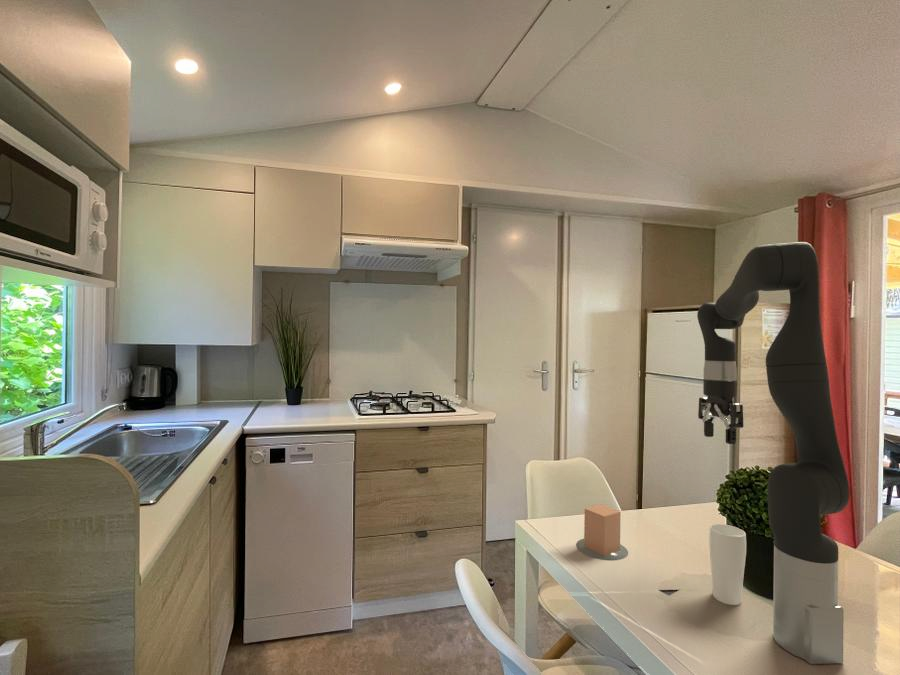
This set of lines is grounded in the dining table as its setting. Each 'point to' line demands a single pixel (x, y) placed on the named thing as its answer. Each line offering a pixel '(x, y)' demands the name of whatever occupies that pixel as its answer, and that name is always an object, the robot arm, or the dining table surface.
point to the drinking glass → (727, 562)
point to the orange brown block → (602, 529)
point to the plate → (613, 556)
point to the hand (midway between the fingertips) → (719, 440)
